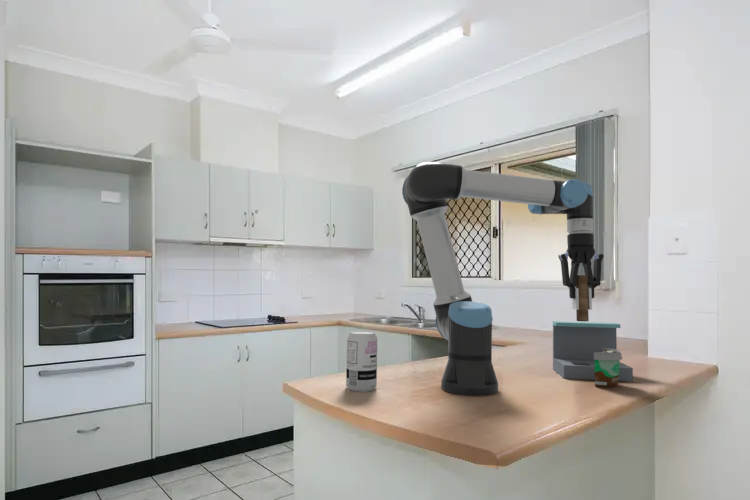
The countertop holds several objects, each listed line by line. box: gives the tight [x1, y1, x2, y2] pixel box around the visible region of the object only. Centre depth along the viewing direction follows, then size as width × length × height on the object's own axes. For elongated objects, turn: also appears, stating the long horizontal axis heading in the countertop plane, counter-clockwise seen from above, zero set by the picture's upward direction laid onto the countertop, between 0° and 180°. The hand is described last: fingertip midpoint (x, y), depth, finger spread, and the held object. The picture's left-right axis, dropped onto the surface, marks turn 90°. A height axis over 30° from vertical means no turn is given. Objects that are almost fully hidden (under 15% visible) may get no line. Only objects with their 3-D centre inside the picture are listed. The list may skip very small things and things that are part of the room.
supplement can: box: [345, 330, 378, 393], centre depth 130 cm, size 8×8×15 cm
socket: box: [552, 320, 634, 382], centre depth 154 cm, size 20×14×16 cm
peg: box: [575, 274, 590, 322], centre depth 148 cm, size 3×3×14 cm
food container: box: [594, 348, 623, 389], centre depth 139 cm, size 12×6×10 cm, turn 143°
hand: (582, 309), depth 148 cm, fingers closed on peg, 3 cm apart
